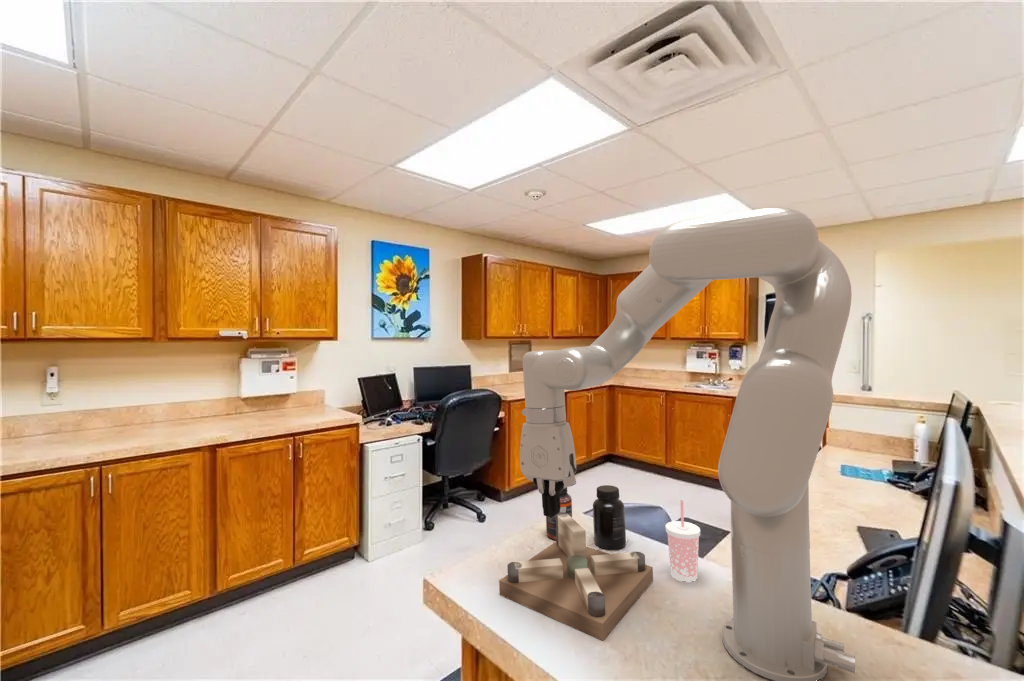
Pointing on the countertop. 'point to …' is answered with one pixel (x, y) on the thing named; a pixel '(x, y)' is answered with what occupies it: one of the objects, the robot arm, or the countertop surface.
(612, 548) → the supplement bottle
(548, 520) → the supplement bottle
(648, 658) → the countertop surface
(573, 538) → the hinged leg
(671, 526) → the beverage cup
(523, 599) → the stool seat
